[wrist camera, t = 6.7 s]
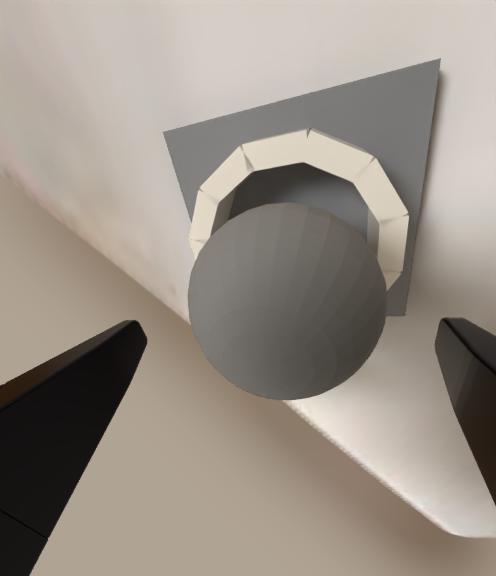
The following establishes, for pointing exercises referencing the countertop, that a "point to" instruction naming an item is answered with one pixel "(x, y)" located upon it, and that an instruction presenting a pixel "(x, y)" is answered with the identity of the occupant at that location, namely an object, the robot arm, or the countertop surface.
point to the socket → (320, 163)
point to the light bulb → (287, 301)
